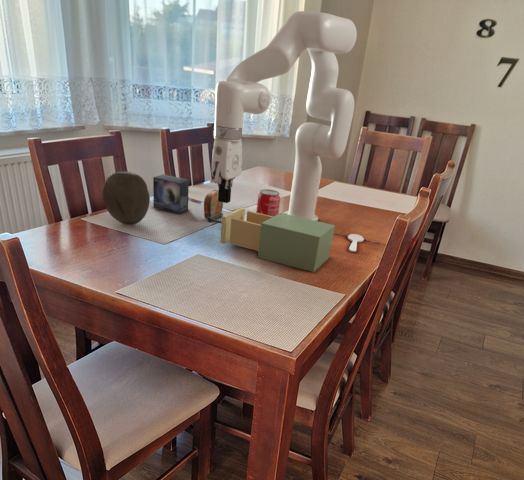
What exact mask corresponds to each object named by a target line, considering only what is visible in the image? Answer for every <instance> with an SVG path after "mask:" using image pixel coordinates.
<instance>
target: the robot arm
mask: <svg viewBox="0 0 524 480" xmlns="http://www.w3.org/2000/svg"><path fill="white" fill-rule="evenodd" d="M357 39H358V31H357V28H356V25H355V23H354V22H353V20H351V19H350V18H346V17H342V16H338V15H334V14H331V13H328V12H327V13H326V12H322V11H321V12H320V11H306V10H305V11H304V10H300V11H296V12H293V13H292V14H290V16H289V17H288V18H287V19H286V20H285V22H284V23H283V25H281V27H280V28H279V30H278V31H277V33H276V34H275V35H274V36H273V38H272V39H271V41H269V43H268V45H267V46H266V47H264V48H262V49H260V50H258V51H256V52H255V53H253V54H252V55H250V56H248V57H246V58H245V59H244V60H242V61H241V62H240V63H238V65H235V68H234V69H232V71H231V72H230V74H229V75H228V76H227V78H226V80H220V81H218V82H217V83H216V86H215V103H214V105H215V106H214V127H213V129H214V130H213V139H214V141H213V149H212V157H211V175H212V177H213V178H214V184H217V188H218V190H219V193H218V201H219V202H223V204H228V203H230V202H231V199H232V188H233V182H234V180H235V179H236V178H238V177H239V176H241V175H242V171H243V170H242V169H243V142H242V138H243V125H244V124H243V123H244V114H245V113H248V114H252V115H260V114H261V115H262V114H263V113H265V112H266V111H267V110H268V109H269V107H270V106H271V102H272V95H271V91H270V90H269V89H268V87H267V86H265V85H264V84H262V83H260V82H262V81H264V80H268V79H271V78H277V77H279V76H282V75H285V74H287V73H288V72H290V70H291V69H292V68H293V66H294V65H295V63H296V62H297V60H298V59H299V58H300V57H301V55H302V54H303V53H304V51H305V50H306V51H307V52H308V55H309V58H310V63H311V70H310V71H311V72H310V78H309V85H308V90H307V95H306V96H307V97H306V102H305V111H306V113H307V115H308V116H309V117H311V118H313V119H318V120H322V121H326V122H330V125H326V124H323V123H317V122H311V121H309V122H308V121H307V122H304V123H302V124H300V125H299V127H298V128H297V129H296V133H295V136H294V141H295V142H294V143H295V158H294V159H295V160H294V169H293V173H292V174H293V175H292V183H291V189H290V196H289V197H290V198H289V205H288V210H286V211H284V212H283V213H284V214H288V215H292V216H297V217H301V218H305V219H310V220H314V221H318V222H319V216H318V215H317V214H316V209H317V203H318V198H319V197H318V196H319V195H318V194H319V190H320V183H321V178H322V172H323V165H322V161H321V157H322V158H326V159H329V160H338V159H340V158H341V157H342V156H343V155H344V152H345V151H346V148H347V144H348V139H349V134H350V131H351V127H352V123H353V118H354V112H355V98H354V95H353V93H352V92H351V91H350V90H348V89H346V88H340V87H337V86H338V85H337V84H338V78H339V73H340V72H339V71H340V68H339V63H338V58H337V56H336V55H337V54H338V55H346V54H348V53H349V52H351V51H352V49H353V48H354V46H355V44H356V42H357Z"/></svg>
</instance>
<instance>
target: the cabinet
mask: <svg viewBox="0 0 524 480" xmlns="http://www.w3.org/2000/svg"><path fill="white" fill-rule="evenodd" d="M335 228H336V225H335V224H330V223H326V222H323V221H319V220H318V221H314V220H310V219H305V218H301V217H297V216H292V215H288V214H284V212H280V213H279V214H278V215H276V216H274V217H272V218H270V219H268V220H266V221H265V222H263V223H261V232H260V241H259V250H258V251H257V258H259V259H263V260H266V261H269V262H274V263H277V264H282V265H285V266H288V267H293V268H296V269H300V270H304V271H307V272H310V273H315V271H317V270H318V269H319V268H320V267H321V266H322V265H323V264H324V263H325V262H327V260H329V259H330V254H331V249H332V244H333V239H334V233H335Z"/></svg>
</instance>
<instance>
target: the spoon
mask: <svg viewBox="0 0 524 480" xmlns="http://www.w3.org/2000/svg"><path fill="white" fill-rule="evenodd" d="M347 240H349V241H351V244H349V245H350V246H349V248H348V251H349V252H351V253H352V252H353V253H355V252H356V253H357V248H358V247H357V246H358V243H363V242H364V240H365V238H364V237H363V236H362V235H361V234H357V233H351V234H348V235H347Z"/></svg>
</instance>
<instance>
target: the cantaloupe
mask: <svg viewBox="0 0 524 480" xmlns="http://www.w3.org/2000/svg"><path fill="white" fill-rule="evenodd" d="M150 196H151V195H150V192H149V190H148V185H147V183H146V181H145V179H144V178H143V177H142V176H141V175H139V174H138V173H134V172H131V171H115V172H112V173H111V174H110V175H109V176H108V177H106V179H105V181H104V183H103V187H102V201H103V203H104V206H105V208H106V211H107V212H108V214H109V215H110V216H111V217H112V218H113V219H114V220H116V221H117V222H119V223H120V224H124V225H129V226H130V225H136V224H138V223H140V222H141V221H142V220H144V218H145V217H146V215H147V213H148V211H149V208H150V203H151V198H150Z"/></svg>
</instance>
